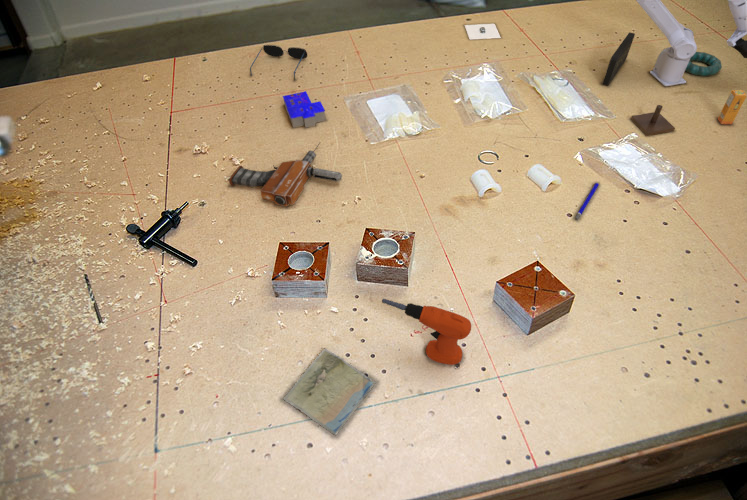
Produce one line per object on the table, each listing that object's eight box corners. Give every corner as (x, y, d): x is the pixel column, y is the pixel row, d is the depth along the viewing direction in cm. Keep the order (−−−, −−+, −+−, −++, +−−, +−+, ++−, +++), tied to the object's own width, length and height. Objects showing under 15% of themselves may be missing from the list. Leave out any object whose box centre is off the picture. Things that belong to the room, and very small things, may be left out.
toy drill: (380, 322, 114) (387, 282, 102) (463, 350, 111) (480, 313, 100) (372, 340, 111) (379, 301, 99) (458, 370, 108) (475, 333, 97)
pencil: (577, 221, 135) (578, 218, 134) (573, 220, 135) (574, 217, 135) (599, 184, 144) (600, 181, 143) (596, 183, 144) (597, 180, 144)
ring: (670, 61, 185) (673, 53, 183) (703, 56, 187) (707, 48, 185) (693, 79, 177) (696, 71, 175) (727, 74, 178) (731, 66, 176)
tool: (221, 184, 144) (320, 203, 135) (267, 128, 160) (358, 142, 152) (226, 195, 146) (323, 215, 138) (270, 139, 163) (360, 154, 155)
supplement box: (727, 118, 162) (743, 89, 154) (731, 124, 159) (748, 95, 152) (716, 118, 162) (732, 89, 155) (720, 124, 160) (736, 95, 152)
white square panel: (494, 23, 208) (495, 19, 207) (500, 37, 200) (501, 34, 199) (464, 25, 208) (464, 21, 207) (469, 39, 200) (470, 35, 199)
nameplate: (607, 86, 176) (616, 58, 168) (601, 85, 176) (611, 57, 169) (626, 59, 187) (635, 32, 179) (620, 58, 188) (630, 31, 180)
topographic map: (282, 398, 104) (281, 395, 103) (324, 348, 111) (324, 345, 110) (335, 437, 99) (335, 434, 98) (376, 382, 106) (376, 378, 105)
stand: (630, 119, 163) (637, 100, 158) (656, 114, 164) (664, 95, 159) (646, 135, 157) (654, 116, 152) (673, 131, 158) (682, 112, 153)
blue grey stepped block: (293, 130, 164) (291, 116, 160) (283, 105, 174) (281, 91, 170) (327, 123, 167) (326, 108, 163) (315, 99, 176) (313, 84, 172)
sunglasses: (308, 59, 194) (306, 47, 190) (296, 85, 186) (293, 73, 182) (265, 55, 197) (262, 43, 193) (251, 80, 189) (247, 68, 185)
